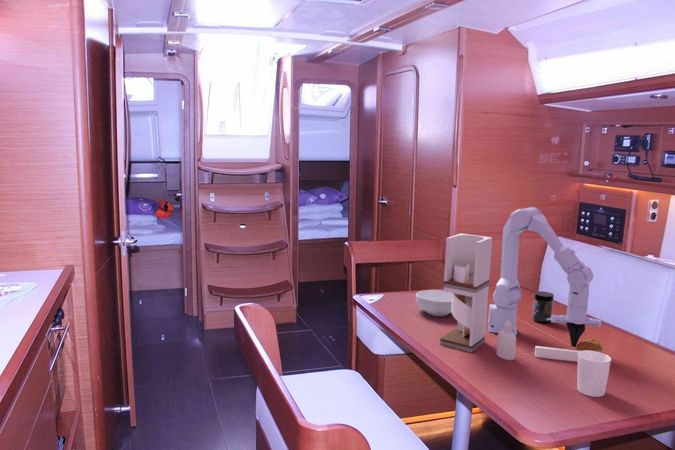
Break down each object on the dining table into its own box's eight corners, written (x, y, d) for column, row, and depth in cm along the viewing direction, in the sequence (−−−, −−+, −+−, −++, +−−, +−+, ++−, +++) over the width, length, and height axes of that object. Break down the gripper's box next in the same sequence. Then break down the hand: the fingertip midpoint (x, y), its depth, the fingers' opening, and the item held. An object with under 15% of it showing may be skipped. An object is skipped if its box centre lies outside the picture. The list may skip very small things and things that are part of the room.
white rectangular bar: (535, 356, 167) (536, 347, 167) (534, 355, 169) (535, 345, 168) (584, 362, 164) (585, 353, 164) (583, 360, 166) (584, 351, 165)
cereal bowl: (466, 311, 210) (467, 294, 209) (450, 323, 196) (451, 304, 195) (425, 303, 219) (426, 286, 218) (407, 314, 205) (408, 296, 204)
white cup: (569, 384, 149) (572, 350, 147) (596, 384, 149) (600, 350, 148) (584, 398, 141) (588, 362, 139) (613, 398, 142) (617, 362, 140)
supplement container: (538, 316, 206) (541, 290, 204) (555, 321, 201) (557, 294, 199) (528, 320, 202) (530, 293, 200) (544, 325, 197) (547, 297, 195)
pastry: (592, 360, 166) (593, 348, 165) (570, 354, 171) (571, 342, 170) (603, 352, 172) (604, 341, 172) (581, 346, 177) (582, 335, 177)
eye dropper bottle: (508, 353, 169) (511, 316, 167) (515, 361, 164) (519, 323, 162) (495, 353, 169) (498, 316, 167) (501, 361, 163) (504, 323, 162)
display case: (454, 334, 185) (460, 233, 179) (484, 341, 179) (492, 237, 173) (440, 344, 176) (446, 237, 170) (471, 352, 169) (479, 242, 164)
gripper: (554, 306, 169) (550, 347, 171) (605, 310, 166) (600, 353, 168) (551, 299, 176) (548, 339, 178) (600, 304, 173) (595, 344, 175)
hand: (573, 345), depth 174 cm, fingers closed
